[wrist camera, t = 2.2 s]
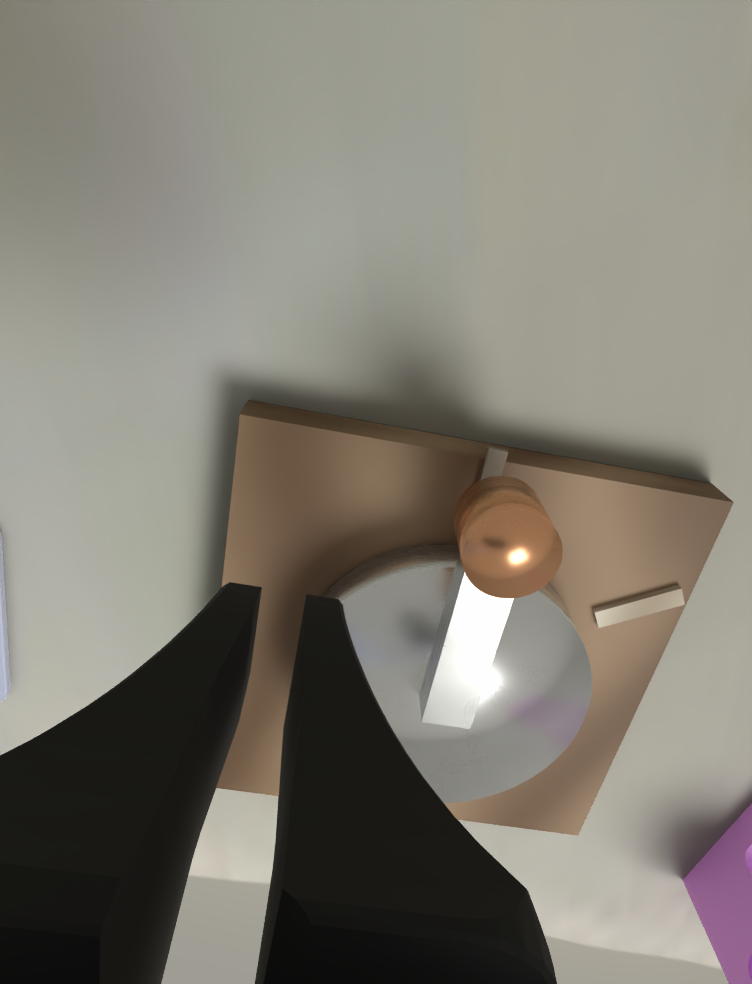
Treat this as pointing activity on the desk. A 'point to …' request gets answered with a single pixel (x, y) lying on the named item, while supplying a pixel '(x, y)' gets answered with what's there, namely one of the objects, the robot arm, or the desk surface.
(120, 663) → the desk surface
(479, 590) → the dial
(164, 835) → the robot arm
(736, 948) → the bracket
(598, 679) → the dial plate
